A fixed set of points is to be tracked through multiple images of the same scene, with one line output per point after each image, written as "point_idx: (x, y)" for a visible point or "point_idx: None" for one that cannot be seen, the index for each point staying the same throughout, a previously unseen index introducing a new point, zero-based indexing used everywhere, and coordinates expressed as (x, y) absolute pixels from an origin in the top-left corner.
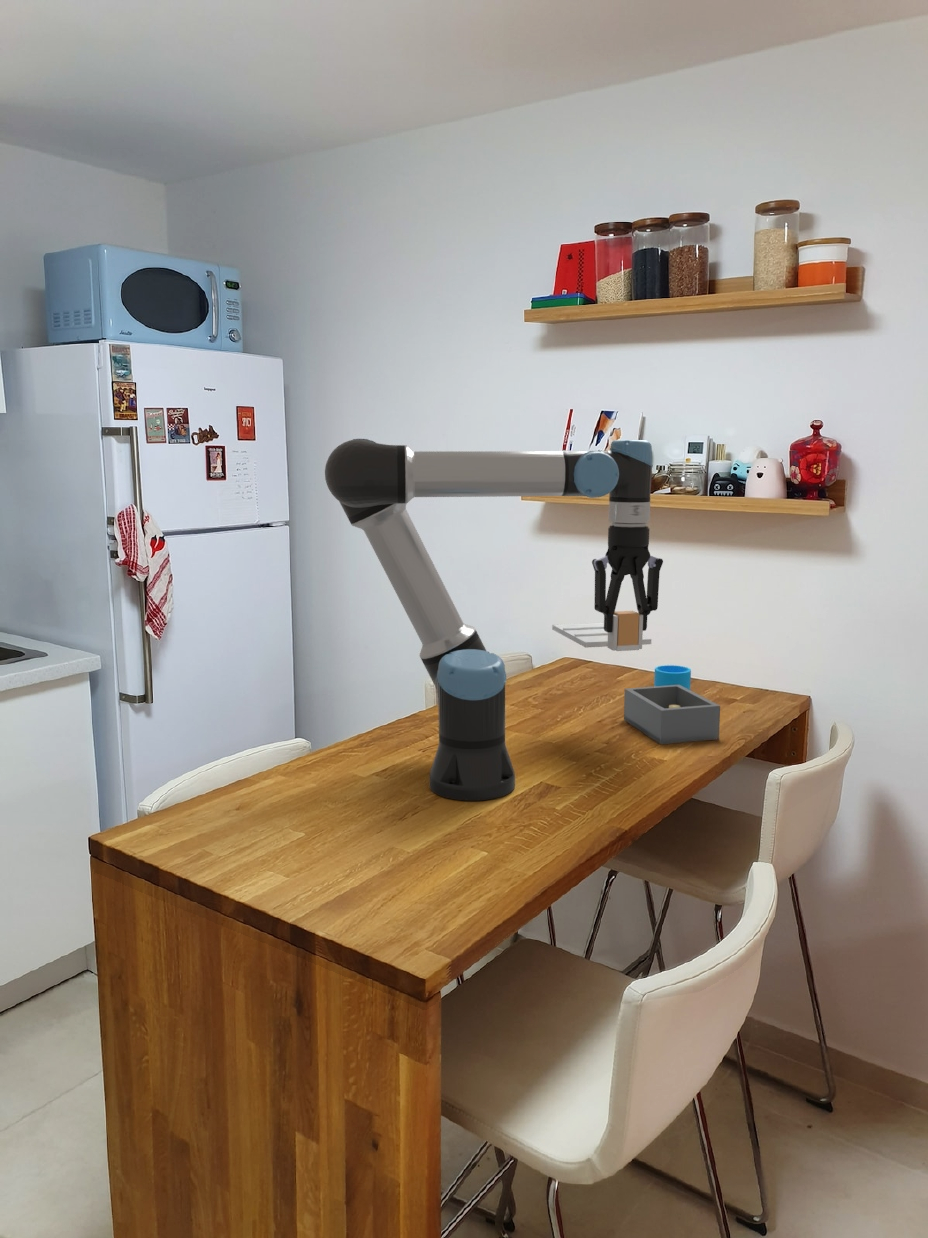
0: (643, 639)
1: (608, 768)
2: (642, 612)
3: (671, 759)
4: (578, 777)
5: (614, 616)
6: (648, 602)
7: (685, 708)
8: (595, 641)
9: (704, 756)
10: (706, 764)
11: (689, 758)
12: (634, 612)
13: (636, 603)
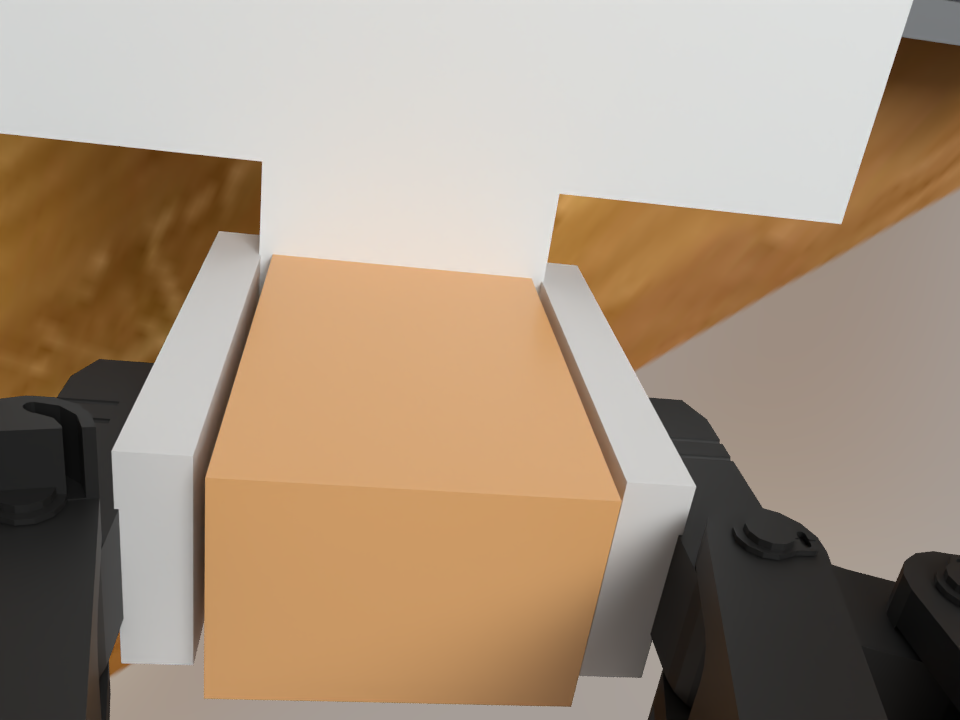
0: (744, 209)
1: (248, 220)
2: (662, 676)
3: (587, 219)
4: (64, 275)
5: (125, 662)
6: (955, 676)
7: (916, 33)
8: (83, 113)
9: (745, 238)
10: (678, 327)
11: (668, 237)
12: (545, 639)
13: (720, 624)
